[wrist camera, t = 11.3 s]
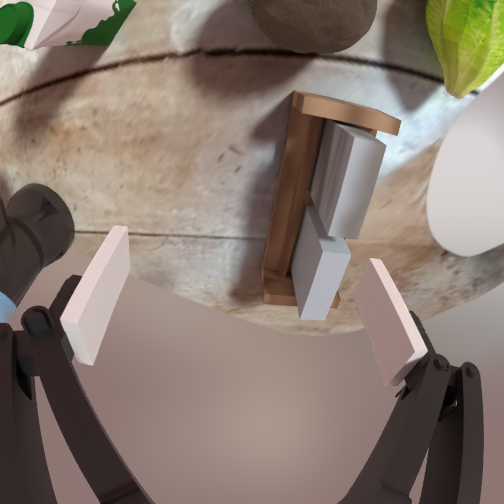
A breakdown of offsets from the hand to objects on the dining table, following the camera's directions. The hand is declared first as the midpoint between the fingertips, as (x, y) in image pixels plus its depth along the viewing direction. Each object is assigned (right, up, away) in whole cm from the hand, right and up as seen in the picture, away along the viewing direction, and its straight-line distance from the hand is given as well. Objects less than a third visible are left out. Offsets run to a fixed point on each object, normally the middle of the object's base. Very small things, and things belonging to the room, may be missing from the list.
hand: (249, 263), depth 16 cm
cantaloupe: (+6, +32, +13) cm, 35 cm away
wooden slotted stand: (+10, +9, +29) cm, 31 cm away
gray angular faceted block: (+9, +3, +30) cm, 32 cm away
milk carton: (-20, +33, +12) cm, 40 cm away
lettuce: (+28, +33, +13) cm, 45 cm away
